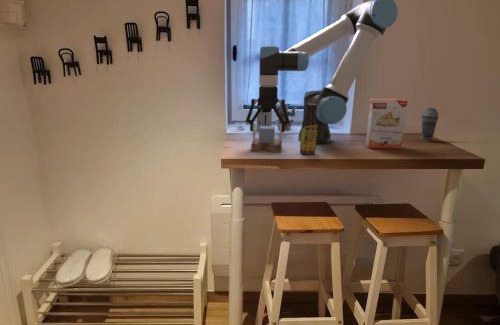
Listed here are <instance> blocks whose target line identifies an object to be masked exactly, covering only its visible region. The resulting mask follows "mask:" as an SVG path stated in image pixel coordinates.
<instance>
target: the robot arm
mask: <svg viewBox="0 0 500 325" xmlns="http://www.w3.org/2000/svg"><path fill="white" fill-rule="evenodd" d="M398 15H399V9H398V4H397V3H396V1H395V0H365V1H363V2H361V3H359V4H358V5H357V6H355V7H354V8H352V9H351V10H349V11H347V12H346V13H344V14H343V15H341V18H340V19H338V20H337V21H336V22H335V21H334V22H333V23H332V24H330V25H328V26H326V27H325V28H323V29H321V30H319V31H318V32H316V33H314V34H313V35H311V36H309V37H307V38H306V39H304V40H302V41H300V42H298V43H297V44H295V45H293V46H291V47H290V48H288V49H286V50H285V51H281V50H280V47H279V46H278V45H277V46H276V45H274V46H273V45H264V46H263V45H262V46H261V47H260V50H259V58H258V59H259V79H258V81H259V82H258V84H259V85H260V86H259V87H258V98H252V99H250V103H251V104H250V107H249V110H248V113H247V115H246V116H247V117H246V119H245V122H246V123H248V124H249V130H250V132H252V141H253V140H254V139H255V138H256V123H255V121H256V120H257V116H258V114H259V113H260V111H261V110H262V108H263V109H272V111H274V113H275V115H276V116H277V118H278V120H279V122H280V124H279V138H278V139H279V140H280V141H281V139H283V138H282V133H285V128H286V127H285V125H286V124H289V123H290V119H289V114H288V112H287V109H286V108H287V107H286V105H285V104H286V99H284V98H282V99H280V98H278V97H279V96H278V90H279V88H278V84H279V72H284V71H285V72H305V71H306V70H307V69H308V66H309V63H310V62H309V59H310V58H311V57H312V56H315V55H316V54H318V53H320V52H321V51H323V50H326V49H327V48H328V47H330V46H331V45H333V44H335V43H337V42H339V41H341V40H342V39H344V38H346V37H348V36H349V37H352V36H353V37H352V40H351V42H350V43H349V45H348V47H347V49H346V51H345V53H344V54H343V57H342V59H341V60H340V63H339V65H338V66H337V69H336V70H335V72H334V74H333V76H332V77H331V80H330V82H329V83H328V84H327V85H323V88H322V89H313V90H311V89H310V90H306V91H305V92H304V96H303V113H302V114H303V116H302V121H303V120H304V118H305V116H306V110H307V107H306V105H307V104H317V108H316V118H317V124H318V129H317V140H316V144H327V143H330V142H331V141H332V135H331V130H330V127H329V125H335V124H338V123H339V122H341V121H342V120H343V119H344V118H345V117H346V113H347V108H348V107H347V103H348V101H349V99H350V98H349V91H350V90H351V87H352V85H353V84H354V82H355V80H356V78H357V77H358V75H359V73H360V70H361V69H362V67H363V65H364V63H365V61H366V60H367V58H368V55H369V54H370V52H371V50H372V48H373V46H374V44H375V43H376V41H377V40H379V39H381V38H383V36H384V33H385V32H386V31H387V29H388V28H390V27H391V26H393V25H394V24H395V22H396V21H397V19H398V17H399V16H398ZM258 102H259V104H260V105H261V106H260V108H259V109H258V111H257V110H256V112H255V114H254V116H253V117H252V114H253V111H254V107H255V105H256V104H258ZM278 103H279V105H280V106H281V109H282V112H283V116H284V117H282V115H281V113H280V112H279V111H280V110H279V109H278V108H277V106H276V105H277V104H278ZM251 117H252V118H251ZM301 131H302V126H301V128H300V130H299V132H298V137H297V139H298V141H300V142H301Z"/></svg>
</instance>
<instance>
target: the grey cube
mask: <svg viewBox="0 0 500 325" xmlns="http://www.w3.org/2000/svg"><path fill="white" fill-rule="evenodd" d="M275 128H276V127H275V125H273V126H260V128H259V131H258V138H259V143H274V139H275V135H276V134H275V132H276V131H275V130H276V129H275Z"/></svg>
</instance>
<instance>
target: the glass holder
mask: <svg viewBox="0 0 500 325" xmlns="http://www.w3.org/2000/svg"><path fill="white" fill-rule="evenodd" d="M256 104H257V108H256V109H257V110H256V112H257V111H258V109H259V108H260V106H261V105H260V104H259V102H257V103H256ZM272 118H273V109H263V108H262V110H261V111H260V113H259V114H258V116H257V118H256V127H255V131H257V132H259V128H260V126H272V124H273V123H272V122H273V121H272V120H273V119H272Z"/></svg>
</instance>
